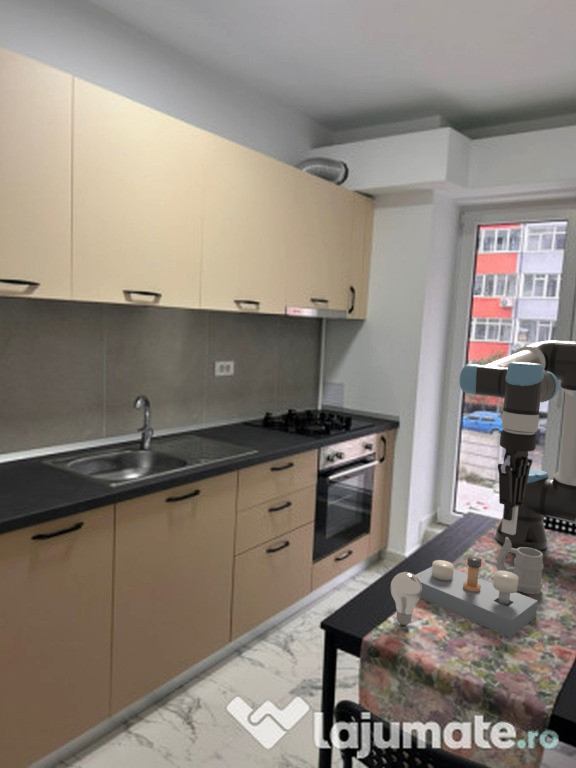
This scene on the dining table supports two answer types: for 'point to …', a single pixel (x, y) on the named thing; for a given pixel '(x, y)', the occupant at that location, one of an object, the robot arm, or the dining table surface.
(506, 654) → the dining table surface
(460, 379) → the robot arm
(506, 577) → the knob
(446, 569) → the knob
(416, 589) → the light bulb
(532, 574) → the mug
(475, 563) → the ball
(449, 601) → the panel
